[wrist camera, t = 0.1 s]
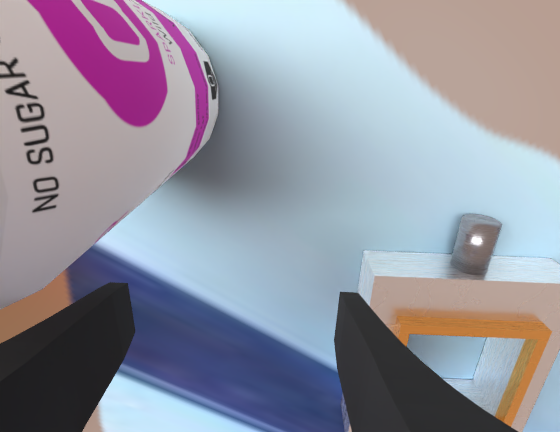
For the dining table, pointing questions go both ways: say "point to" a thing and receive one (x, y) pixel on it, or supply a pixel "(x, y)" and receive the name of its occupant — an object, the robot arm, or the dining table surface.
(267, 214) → the dining table surface
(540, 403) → the dining table surface
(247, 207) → the dining table surface
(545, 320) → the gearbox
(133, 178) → the supplement can
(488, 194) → the dining table surface
